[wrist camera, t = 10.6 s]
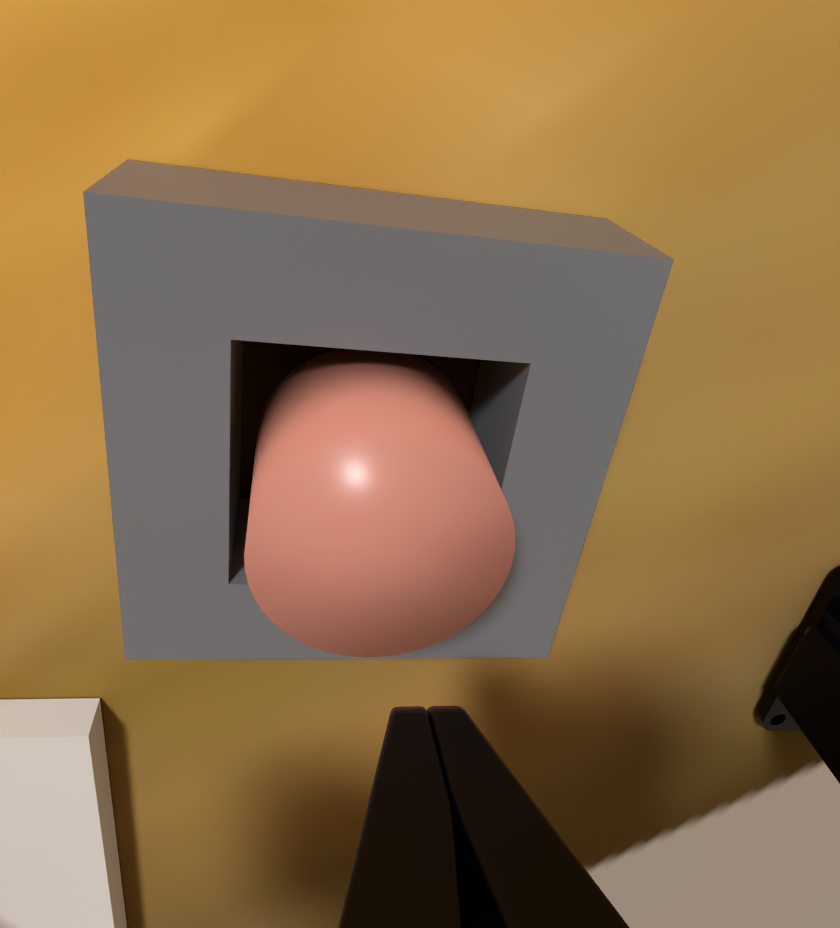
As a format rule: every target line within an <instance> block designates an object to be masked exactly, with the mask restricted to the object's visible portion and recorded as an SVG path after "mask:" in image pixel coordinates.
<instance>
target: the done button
mask: <svg viewBox="0 0 840 928" xmlns="http://www.w3.org/2000/svg"><path fill="white" fill-rule="evenodd" d="M514 552H515V528H514V521H513V518H512V515H511V512H510V509H509V506H508V504H507V501H506V499H505V497H504V495H503V492H502V490H501V488H500V486H499V483H498V481H497V479H496V476H495V474H494V472H493V470H492V467H491V465H490V463H489V461H488V458H487V456H486V454H485V451H484V449H483V447H482V445H481V442H480V440H479V438H478V436H477V433H476V431H475V429H474V426H473V424H472V422H471V420H470V417H469V415H468V413H467V411H466V408H465V406H464V404H463V402H462V400H461V398H460V396H459V394H458V392H457V391H456V389H455V388H454V386H453V385H452V384H451V382H450V381H449V380H448V379H447V378H446V377H445V376H444V375H443V374H442V373H441V372H440V371H439V370H438V369H436V368H435V367H434V366H433V365H431V364H430V363H428V362H426V361H425V360H423V359H421V358H419V357H417V356H415V355H413V354H405V353H392V352H380V351H367V350H355V349H342V348H340V349H336V350H332V351H329V352H326V353H324V354H321V355H318V356H316V357H314V358H312V359H311V360H309V361H307V362H305V363H303V364H302V365H301V366H299V367H298V368H296V369H295V370H293V371H292V372H291V373H290V374H289V375H288V376H287V377H286V378H285V379H283V380H282V382H281V383H280V384H279V385H278V386H277V388H276V389H275V390H274V391H273V393H272V394H271V396H270V398H269V399H268V401H267V403H266V405H265V407H264V410H263V412H262V414H261V418H260V421H259V425H258V432H257V441H256V450H255V459H254V469H253V478H252V487H251V496H250V506H249V515H248V524H247V533H246V543H245V552H244V563H245V573H246V577H247V581H248V585H249V587H250V590H251V592H252V594H253V597H254V599H255V600H256V602H257V603H258V605H259V607H260V608H261V610H262V611H263V612H264V613H265V614H266V616H267V617H268V618H269V619H270V620H271V621H272V622H273V623H274V624H275V625H276V626H278V627H279V628H280V629H281V630H282V631H284V632H285V633H287V634H288V635H290V636H291V637H293V638H294V639H296V640H298V641H300V642H302V643H304V644H306V645H309V646H311V647H314V648H317V649H319V650H322V651H326V652H330V653H334V654H339V655H346V656H353V657H383V656H391V655H398V654H404V653H408V652H412V651H416V650H419V649H422V648H425V647H428V646H431V645H433V644H435V643H438V642H440V641H442V640H444V639H446V638H448V637H450V636H452V635H453V634H455V633H457V632H459V631H460V630H462V629H463V628H464V627H466V626H467V625H468V624H470V623H471V622H473V621H474V620H475V619H476V618H477V617H478V616H479V615H480V614H481V613H483V612H484V611H485V609H486V608H487V607H488V606H489V605H490V604H491V603H492V601H493V600H494V599H495V597H496V596H497V594H498V593H499V591H500V590H501V589H502V587H503V585H504V583H505V581H506V579H507V577H508V574H509V572H510V569H511V566H512V563H513V558H514Z"/></svg>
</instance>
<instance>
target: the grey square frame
mask: <svg viewBox="0 0 840 928" xmlns="http://www.w3.org/2000/svg"><path fill="white" fill-rule="evenodd" d="M83 194H84V205H85V216H86V227H87V238H88V249H89V261H90V272H91V283H92V294H93V305H94V316H95V327H96V339H97V350H98V361H99V372H100V383H101V394H102V406H103V417H104V428H105V439H106V450H107V461H108V473H109V484H110V495H111V506H112V517H113V528H114V539H115V551H116V562H117V573H118V584H119V595H120V606H121V618H122V629H123V640H124V651H125V660H149V659H374V658H548V655H549V652H550V649H551V646H552V643H553V639H554V636H555V633H556V630H557V627H558V624H559V620H560V617H561V614H562V611H563V608H564V605H565V601H566V598H567V595H568V592H569V589H570V586H571V583H572V579H573V576H574V573H575V570H576V567H577V564H578V560H579V557H580V554H581V551H582V548H583V545H584V541H585V538H586V535H587V532H588V529H589V526H590V523H591V519H592V516H593V513H594V510H595V507H596V504H597V500H598V497H599V494H600V491H601V488H602V485H603V481H604V478H605V475H606V472H607V469H608V466H609V462H610V459H611V456H612V453H613V450H614V447H615V444H616V440H617V437H618V434H619V431H620V428H621V425H622V421H623V418H624V415H625V412H626V409H627V406H628V402H629V399H630V396H631V393H632V390H633V387H634V384H635V380H636V377H637V374H638V371H639V368H640V365H641V361H642V358H643V355H644V352H645V349H646V346H647V342H648V339H649V336H650V333H651V330H652V327H653V323H654V320H655V317H656V314H657V311H658V308H659V305H660V301H661V298H662V295H663V292H664V289H665V286H666V282H667V279H668V276H669V273H670V270H671V267H672V263H673V260H674V259H673V258H671V257H669V256H668V255H666V254H664V253H663V252H661V251H659V250H658V249H656V248H654V247H653V246H651V245H649V244H648V243H646V242H644V241H643V240H641V239H640V238H638V237H636V236H635V235H633V234H631V233H630V232H628V231H626V230H625V229H623V228H621V227H620V226H618V225H616V224H615V223H613V222H611V221H610V220H608V219H605V218H597V217H589V216H580V215H572V214H564V213H556V212H548V211H540V210H532V209H524V208H516V207H508V206H500V205H492V204H484V203H475V202H467V201H459V200H451V199H443V198H435V197H427V196H419V195H411V194H403V193H395V192H387V191H379V190H371V189H362V188H354V187H346V186H338V185H330V184H322V183H314V182H306V181H298V180H290V179H282V178H274V177H266V176H258V175H249V174H241V173H233V172H225V171H217V170H209V169H201V168H193V167H185V166H177V165H169V164H161V163H153V162H144V161H136V160H126V161H125V162H124V163H122V164H121V165H119V166H118V167H117V168H115V169H114V170H113V171H111V172H110V173H108V174H107V175H106V176H104V177H103V178H102V179H100V180H99V181H97V182H96V183H95V184H93V185H92V186H91V187H89V188H88V189H86V190H85V191H84V192H83ZM243 341H254V342H267V343H279V344H292V345H304V346H317V347H329V348H342V349H355V350H367V351H380V352H392V353H405V354H417V355H430V356H442V357H455V358H467V359H480V360H481V362H480V367H479V372H478V377H477V382H476V387H475V392H474V397H473V403H472V408H471V413H470V420H471V422H472V424H473V426H474V429H475V431H476V433H477V436H478V438H479V440H480V442H481V445H482V447H483V449H484V451H485V454H486V456H487V458H488V461H489V463H490V465H491V467H492V470H493V472H494V474H495V476H496V479H497V481H498V483H499V486H500V488H501V490H502V492H503V495H504V497H505V499H506V501H507V504H508V506H509V509H510V512H511V515H512V518H513V521H514V528H515V552H514V558H513V563H512V566H511V569H510V572H509V574H508V577H507V579H506V581H505V583H504V585H503V587H502V589H501V590H500V591H499V593H498V594H497V596H496V597H495V599H494V600H493V601H492V603H491V604H490V605H489V606H488V607H487V608H486V609H485V611H484V612H483V613H481V614H480V615H479V616H478V617H477V618H476V619H475V620H474V621H473V622H471V623H470V624H468V625H467V626H466V627H464V628H463V629H462V630H460V631H459V632H457V633H455V634H453V635H452V636H450V637H448V638H446V639H444V640H442V641H440V642H438V643H435V644H433V645H431V646H428V647H425V648H422V649H419V650H416V651H412V652H408V653H404V654H398V655H391V656H383V657H353V656H346V655H339V654H334V653H330V652H326V651H322V650H319V649H317V648H314V647H311V646H309V645H306V644H304V643H302V642H300V641H298V640H296V639H294V638H293V637H291V636H290V635H288V634H287V633H285V632H284V631H282V630H281V629H280V628H279V627H278V626H276V625H275V624H274V623H273V622H272V621H271V620H270V619H269V618H268V617H267V616H266V614H265V613H264V612H263V611H262V610H261V608H260V607H259V605H258V603H257V602H256V600H255V599H254V597H253V594H252V592H251V590H250V587H249V585H248V581H247V577H246V573H245V563H244V552H245V543H246V533H247V524H248V515H249V506H250V499H244V498H240V455H241V398H242V342H243Z"/></svg>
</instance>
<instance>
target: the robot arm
mask: <svg viewBox="0 0 840 928" xmlns="http://www.w3.org/2000/svg"><path fill="white" fill-rule="evenodd" d="M756 716H757V718H758V720H759V721H760V723H761V724H762V726H763V727H764V728H765V729H767V730H802V732H803V733H804V734H805V736H806V737H807V739H808V740H809V741H810V743H811V744H812V746H813V747H814V748H815V750H816V751H817V753H818V754H819V755H820V757H821V758H822V759H823V761H824V762H825V764H826V765H827V766H828V768H829V769H830V771H831V772H832V773H833V775H834V776H835V777H836V779H837V780H838V782H839V783H840V567H839V568H837V569H836V570H835V571H834V572H833V573H832V574H831V576H830V577H829V579H828V581H827V583H826V585H825V587H824V588H823V590H822V592H821V594H820V596H819V598H818V599H817V601H816V603H815V605H814V607H813V609H812V610H811V612H810V614H809V616H808V618H807V620H806V621H805V623H804V625H803V627H802V629H801V631H800V632H799V634H798V636H797V638H796V640H795V642H794V643H793V645H792V647H791V649H790V651H789V653H788V654H787V656H786V658H785V660H784V662H783V664H782V665H781V667H780V669H779V671H778V673H777V675H776V676H775V678H774V680H773V682H772V684H771V686H770V687H769V689H768V691H767V693H766V695H765V697H764V698H763V700H762V702H761V704H760V706H759V708H758V709H757V712H756ZM337 928H629V927H628V925H627V924H626V923H625V921H624V920H623V918H622V917H621V916H620V915H619V913H618V912H617V911H616V909H615V908H614V907H613V905H612V904H611V903H610V901H609V900H608V899H607V897H606V896H605V895H604V893H603V892H602V891H601V890H600V888H599V887H598V886H597V884H596V883H595V882H594V880H593V879H592V878H591V876H590V875H589V874H588V872H587V871H586V870H585V868H584V867H583V866H582V864H581V863H580V862H579V860H578V859H577V858H576V856H575V855H574V854H573V852H572V851H571V850H570V849H569V847H568V846H567V845H566V843H565V842H564V841H563V839H562V838H561V837H560V835H559V834H558V833H557V831H556V830H555V829H554V827H553V826H552V825H551V823H550V822H549V821H548V819H547V818H546V817H545V816H544V814H543V813H542V812H541V810H540V809H539V808H538V806H537V805H536V804H535V802H534V801H533V800H532V798H531V797H530V796H529V794H528V793H527V792H526V790H525V789H524V788H523V786H522V785H521V784H520V783H519V781H518V780H517V779H516V777H515V776H514V775H513V773H512V772H511V771H510V769H509V768H508V767H507V765H506V764H505V763H504V761H503V760H502V759H501V757H500V756H499V755H498V753H497V752H496V751H495V750H494V748H493V747H492V746H491V744H490V743H489V742H488V740H487V739H486V738H485V736H484V735H483V734H482V732H481V731H480V730H479V728H478V727H477V726H476V724H475V723H474V722H473V720H472V719H471V718H470V716H469V715H468V714H467V713H466V711H465V710H464V709H462V708H461V707H459V706H432V707H429V708H428V709H427V711H426V709H425V708H423V707H420V706H416V707H395V708H393V709H392V710H391V713H390V717H389V721H388V725H387V729H386V733H385V737H384V741H383V745H382V749H381V753H380V757H379V761H378V765H377V769H376V773H375V777H374V781H373V785H372V789H371V793H370V798H369V802H368V806H367V810H366V814H365V818H364V822H363V826H362V830H361V834H360V838H359V842H358V846H357V850H356V854H355V858H354V862H353V866H352V870H351V874H350V879H349V883H348V887H347V891H346V895H345V899H344V903H343V907H342V911H341V915H340V919H339V923H338V927H337Z"/></svg>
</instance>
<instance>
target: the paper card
mask: <svg viewBox="0 0 840 928" xmlns="http://www.w3.org/2000/svg"><path fill="white" fill-rule="evenodd" d="M0 928H127V923H126V915H125V907H124V898H123V890H122V881H121V873H120V864H119V856H118V848H117V839H116V831H115V822H114V814H113V805H112V797H111V789H110V780H109V772H108V763H107V755H106V746H105V738H104V729H103V721H102V713H101V704H100V698H80V699H10V700H0Z"/></svg>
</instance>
